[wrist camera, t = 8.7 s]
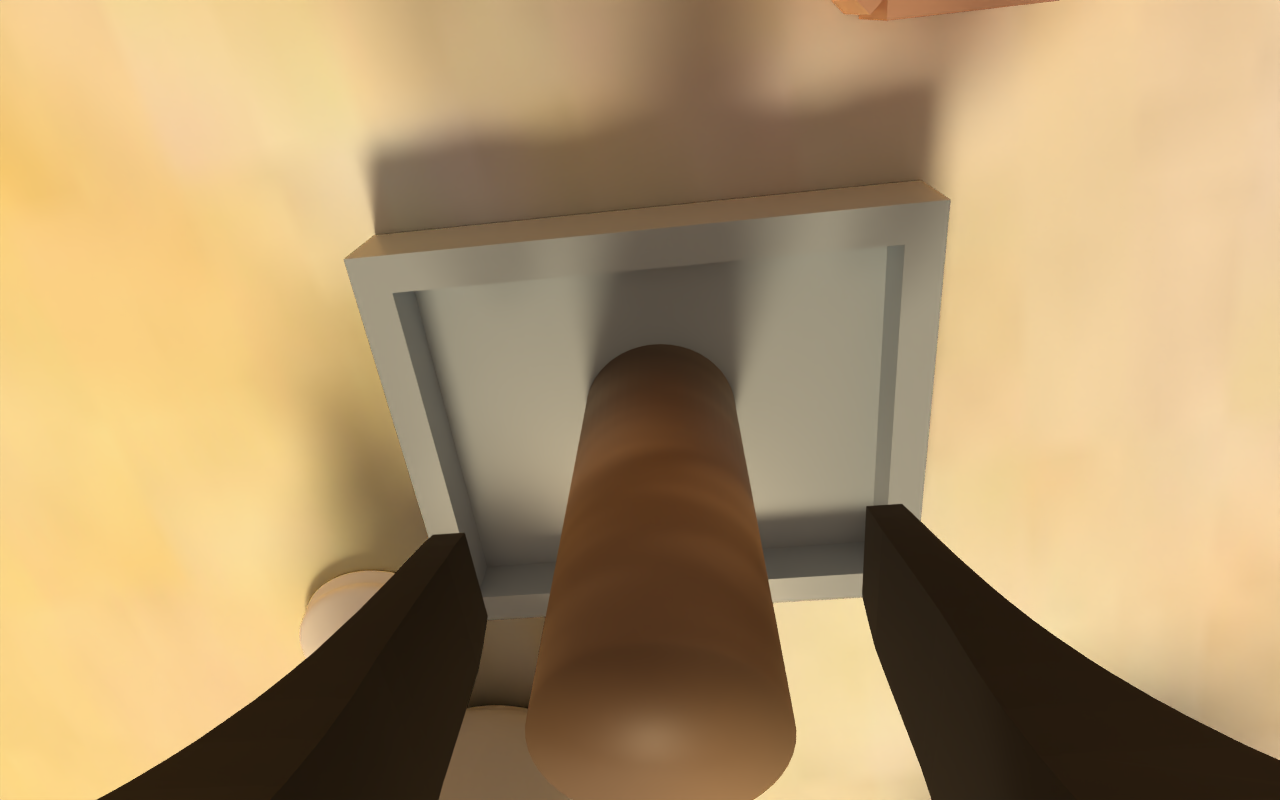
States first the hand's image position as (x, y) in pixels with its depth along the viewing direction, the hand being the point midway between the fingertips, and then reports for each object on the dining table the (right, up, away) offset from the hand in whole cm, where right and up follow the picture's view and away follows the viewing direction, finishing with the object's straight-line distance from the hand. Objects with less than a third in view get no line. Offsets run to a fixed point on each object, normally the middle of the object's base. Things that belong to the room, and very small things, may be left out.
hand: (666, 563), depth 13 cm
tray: (0, +3, +5) cm, 6 cm away
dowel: (0, +3, +4) cm, 5 cm away
